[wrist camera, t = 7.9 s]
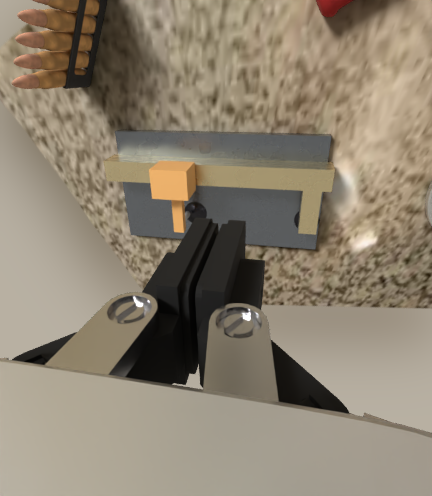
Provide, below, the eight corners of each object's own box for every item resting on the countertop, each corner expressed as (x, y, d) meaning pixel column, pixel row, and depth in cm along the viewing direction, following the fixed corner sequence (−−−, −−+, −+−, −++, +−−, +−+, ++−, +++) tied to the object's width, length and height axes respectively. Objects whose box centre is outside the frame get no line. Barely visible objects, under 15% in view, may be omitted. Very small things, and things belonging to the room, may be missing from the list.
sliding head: (200, 155, 41) (186, 171, 35) (203, 218, 45) (190, 242, 39) (167, 153, 41) (148, 169, 36) (173, 216, 45) (156, 239, 40)
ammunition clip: (94, -28, 35) (12, -59, 25) (111, -19, 35) (35, -47, 25) (75, 79, 41) (1, 89, 30) (89, 87, 41) (21, 99, 31)
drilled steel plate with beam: (335, 134, 38) (339, 142, 35) (318, 245, 45) (320, 262, 42) (114, 129, 43) (99, 136, 39) (130, 231, 50) (118, 244, 46)
